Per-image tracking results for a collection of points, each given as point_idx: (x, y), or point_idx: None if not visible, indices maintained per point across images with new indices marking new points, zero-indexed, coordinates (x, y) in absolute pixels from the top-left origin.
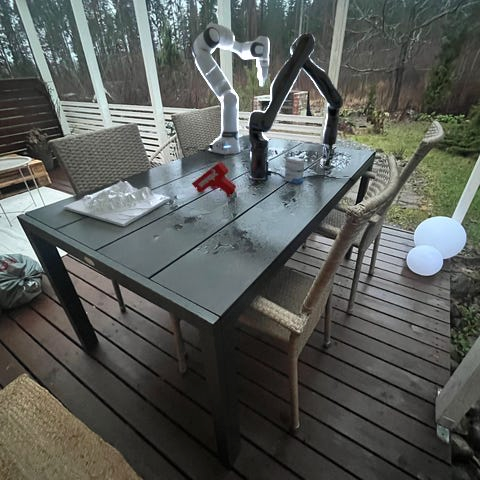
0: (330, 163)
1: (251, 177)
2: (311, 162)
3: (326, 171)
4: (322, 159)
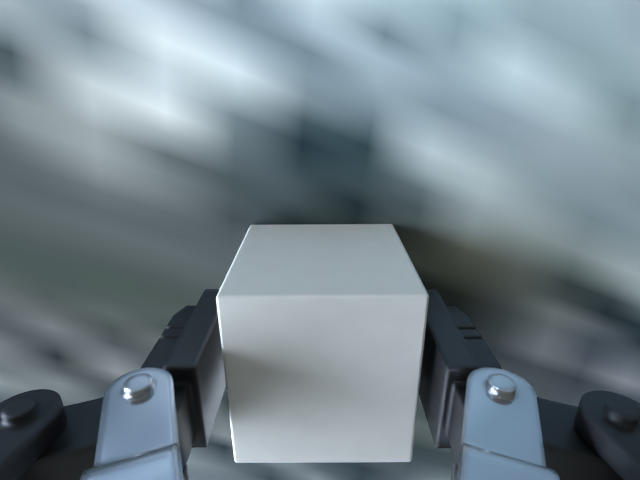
0: (410, 269)
1: None
2: None
3: (539, 335)
4: (303, 451)
